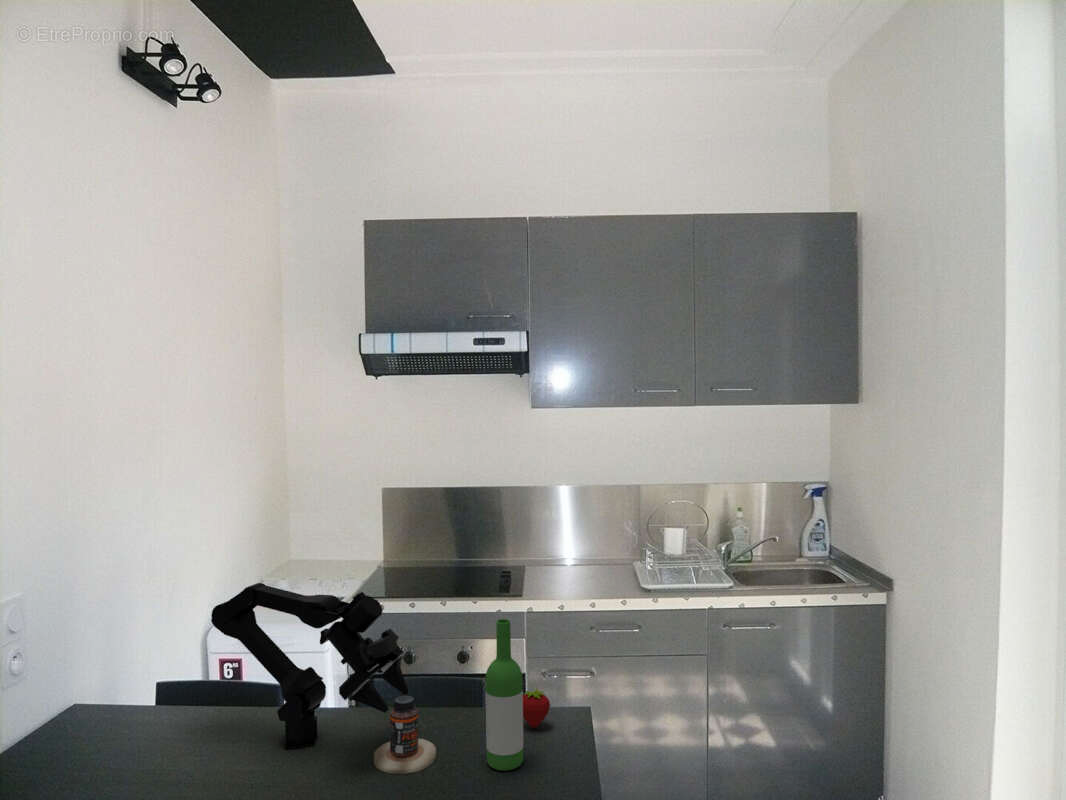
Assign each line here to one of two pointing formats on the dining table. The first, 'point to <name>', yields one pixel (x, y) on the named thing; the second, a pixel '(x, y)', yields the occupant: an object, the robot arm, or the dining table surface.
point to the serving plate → (405, 758)
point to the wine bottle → (504, 705)
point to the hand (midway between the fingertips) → (397, 702)
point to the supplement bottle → (404, 727)
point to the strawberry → (535, 707)
